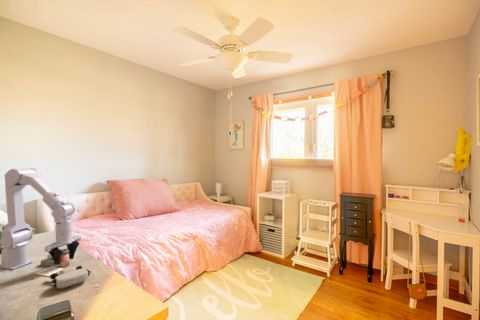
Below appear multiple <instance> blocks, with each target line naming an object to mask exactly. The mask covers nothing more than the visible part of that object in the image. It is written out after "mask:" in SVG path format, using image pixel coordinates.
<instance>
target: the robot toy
mask: <svg viewBox="0 0 480 320" xmlns="http://www.w3.org/2000/svg"><path fill="white" fill-rule="evenodd" d="M92 273H93V270H89V269H86V268H83V265H78V266H76V268H75V266H67V267H64V268H63V269H62V270H61V271H60V272H57V273H53V274H52V275H49V276H48V279H51V280H52V281H51V283H50V286H52V287H54V288H56V289H66V288H68V287H70V286H74V285H76V284H81V283H83V282H84V281H86V280H87V279H88V278H89V277H90V276H91V274H92Z"/></svg>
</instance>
